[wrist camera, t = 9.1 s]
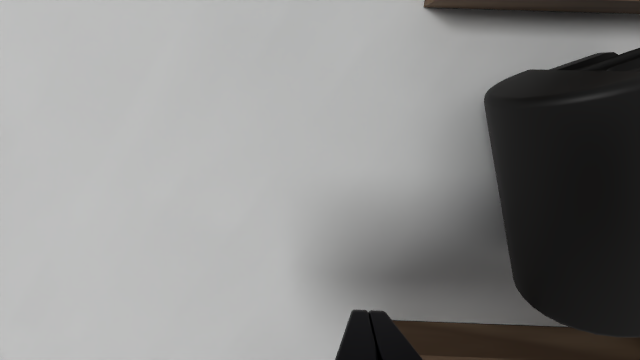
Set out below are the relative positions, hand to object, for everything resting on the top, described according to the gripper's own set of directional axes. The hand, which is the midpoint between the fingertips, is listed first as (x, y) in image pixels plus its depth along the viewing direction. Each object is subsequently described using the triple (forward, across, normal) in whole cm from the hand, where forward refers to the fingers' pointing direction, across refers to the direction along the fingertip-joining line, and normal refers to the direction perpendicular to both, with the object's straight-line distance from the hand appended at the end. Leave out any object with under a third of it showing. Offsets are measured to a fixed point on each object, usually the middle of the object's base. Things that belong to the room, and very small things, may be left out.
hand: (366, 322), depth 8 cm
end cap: (+10, -10, -2) cm, 14 cm away
